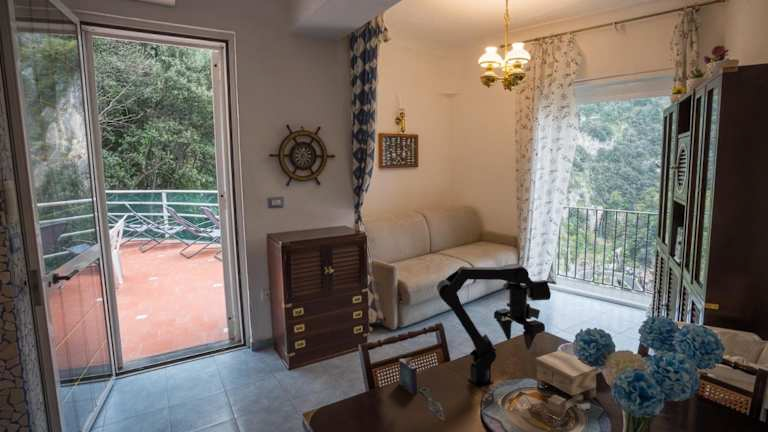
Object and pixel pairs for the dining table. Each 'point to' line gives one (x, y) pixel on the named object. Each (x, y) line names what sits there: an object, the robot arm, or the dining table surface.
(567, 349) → the paper bowls
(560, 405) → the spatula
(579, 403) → the steel token
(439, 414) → the throwing knife
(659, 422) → the dining table surface
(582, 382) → the wooden crate
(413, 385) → the flask
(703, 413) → the dining table surface
